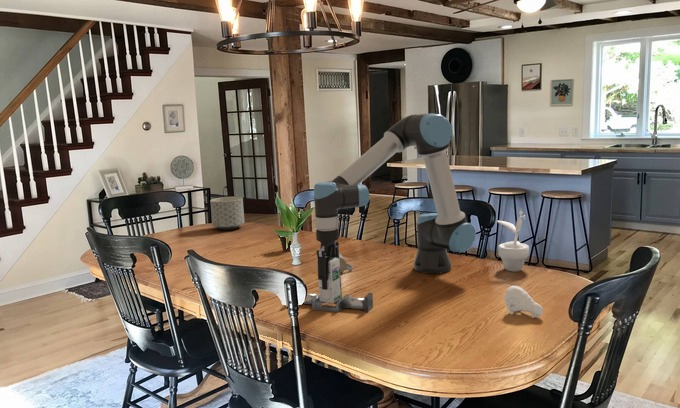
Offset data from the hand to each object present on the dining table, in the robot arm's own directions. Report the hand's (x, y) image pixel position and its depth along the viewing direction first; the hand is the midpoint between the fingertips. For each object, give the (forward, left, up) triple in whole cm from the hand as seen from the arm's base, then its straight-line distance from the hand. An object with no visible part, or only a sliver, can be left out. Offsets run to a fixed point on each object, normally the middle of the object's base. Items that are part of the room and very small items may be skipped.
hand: (330, 294), depth 183 cm
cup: (+51, -66, -4) cm, 84 cm away
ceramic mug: (+13, -40, -4) cm, 42 cm away
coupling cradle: (0, 0, -4) cm, 4 cm away
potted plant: (-55, -57, -4) cm, 79 cm away
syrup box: (0, 0, -2) cm, 2 cm away
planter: (+112, -107, -4) cm, 155 cm away
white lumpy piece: (-62, -8, -4) cm, 63 cm away
